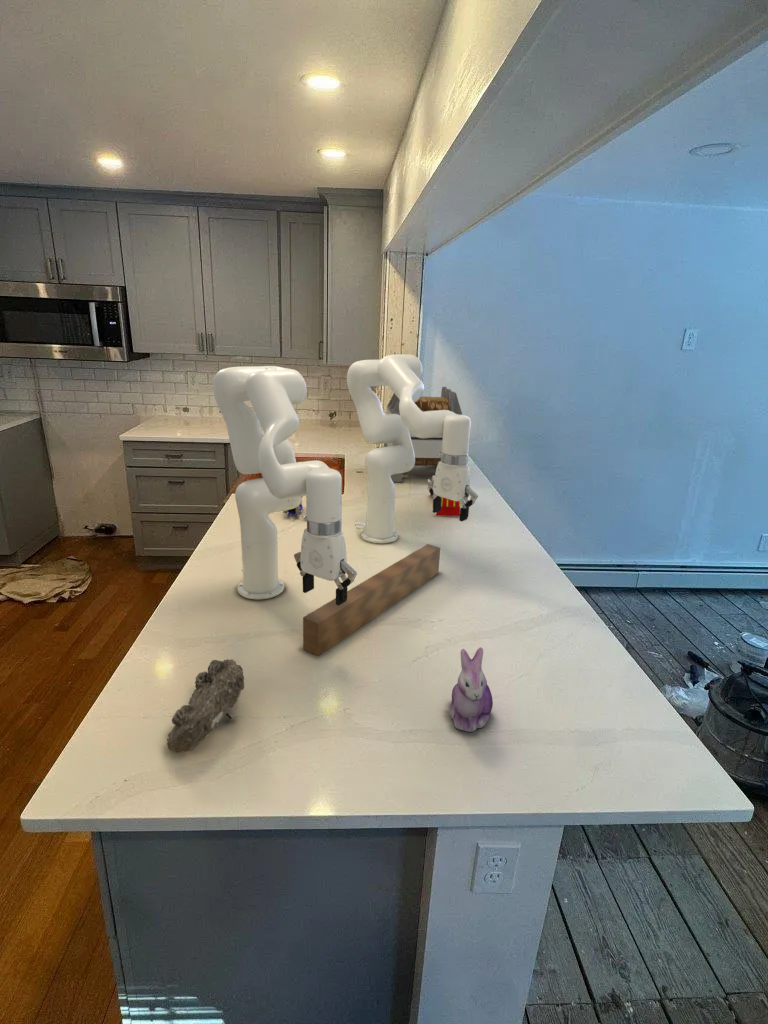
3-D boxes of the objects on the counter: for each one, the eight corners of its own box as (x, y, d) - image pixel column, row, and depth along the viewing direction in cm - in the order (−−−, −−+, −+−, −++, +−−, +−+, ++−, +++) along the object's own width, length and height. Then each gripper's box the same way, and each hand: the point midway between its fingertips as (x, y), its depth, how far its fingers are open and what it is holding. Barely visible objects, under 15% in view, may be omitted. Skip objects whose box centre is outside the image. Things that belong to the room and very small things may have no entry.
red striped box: (454, 471, 244) (466, 482, 214) (452, 502, 246) (464, 517, 217) (426, 471, 243) (434, 481, 214) (424, 501, 246) (432, 516, 217)
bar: (425, 569, 174) (427, 543, 171) (438, 573, 171) (440, 547, 169) (303, 649, 131) (302, 617, 128) (317, 656, 128) (317, 623, 125)
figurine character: (300, 523, 209) (305, 505, 222) (300, 504, 206) (305, 487, 219) (282, 522, 209) (288, 504, 222) (281, 504, 205) (287, 487, 219)
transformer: (382, 463, 289) (386, 382, 275) (445, 464, 293) (451, 384, 279) (390, 482, 257) (394, 392, 243) (460, 483, 261) (468, 394, 247)
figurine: (465, 741, 105) (473, 672, 100) (436, 707, 113) (441, 643, 108) (506, 726, 109) (515, 660, 104) (474, 695, 117) (481, 632, 112)
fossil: (192, 660, 117) (244, 628, 112) (224, 691, 120) (276, 661, 115) (142, 746, 98) (202, 712, 93) (182, 779, 101) (242, 748, 96)
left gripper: (282, 521, 124) (285, 592, 130) (344, 540, 115) (344, 614, 121) (306, 513, 130) (307, 580, 136) (366, 529, 121) (365, 601, 126)
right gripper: (422, 455, 163) (418, 511, 169) (472, 467, 152) (466, 526, 158) (438, 451, 169) (434, 505, 174) (487, 462, 158) (481, 520, 163)
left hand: (324, 596), depth 128 cm, fingers open, 9 cm apart
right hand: (449, 515), depth 166 cm, fingers open, 9 cm apart
